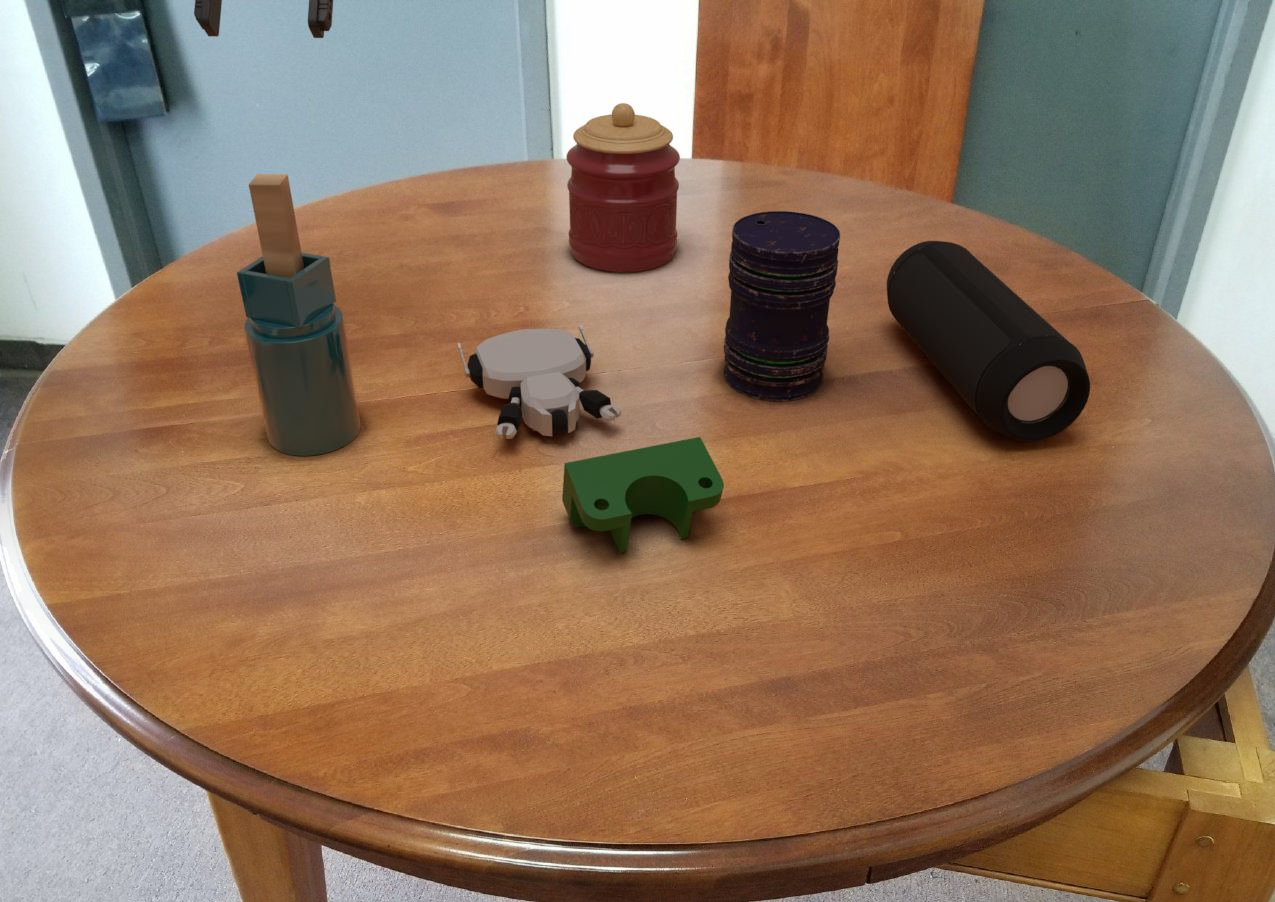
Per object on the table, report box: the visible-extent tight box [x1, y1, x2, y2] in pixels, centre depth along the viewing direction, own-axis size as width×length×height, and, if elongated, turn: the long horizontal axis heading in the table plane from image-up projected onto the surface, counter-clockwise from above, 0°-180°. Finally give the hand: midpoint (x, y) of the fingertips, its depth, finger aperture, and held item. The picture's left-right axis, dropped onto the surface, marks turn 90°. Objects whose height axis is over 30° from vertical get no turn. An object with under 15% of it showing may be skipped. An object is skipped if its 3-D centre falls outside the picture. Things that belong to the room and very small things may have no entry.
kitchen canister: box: [565, 102, 681, 273], centre depth 124 cm, size 13×13×18 cm
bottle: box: [236, 252, 362, 457], centre depth 91 cm, size 8×8×16 cm
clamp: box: [561, 436, 725, 554], centre depth 83 cm, size 12×6×9 cm, turn 104°
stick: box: [248, 173, 304, 278], centre depth 86 cm, size 2×2×11 cm
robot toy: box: [457, 324, 622, 440], centre depth 98 cm, size 12×4×15 cm
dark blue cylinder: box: [723, 210, 841, 402], centre depth 100 cm, size 10×10×15 cm
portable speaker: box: [886, 240, 1091, 442], centre depth 101 cm, size 26×10×10 cm, turn 11°
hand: (262, 31), depth 86 cm, fingers open, 8 cm apart
